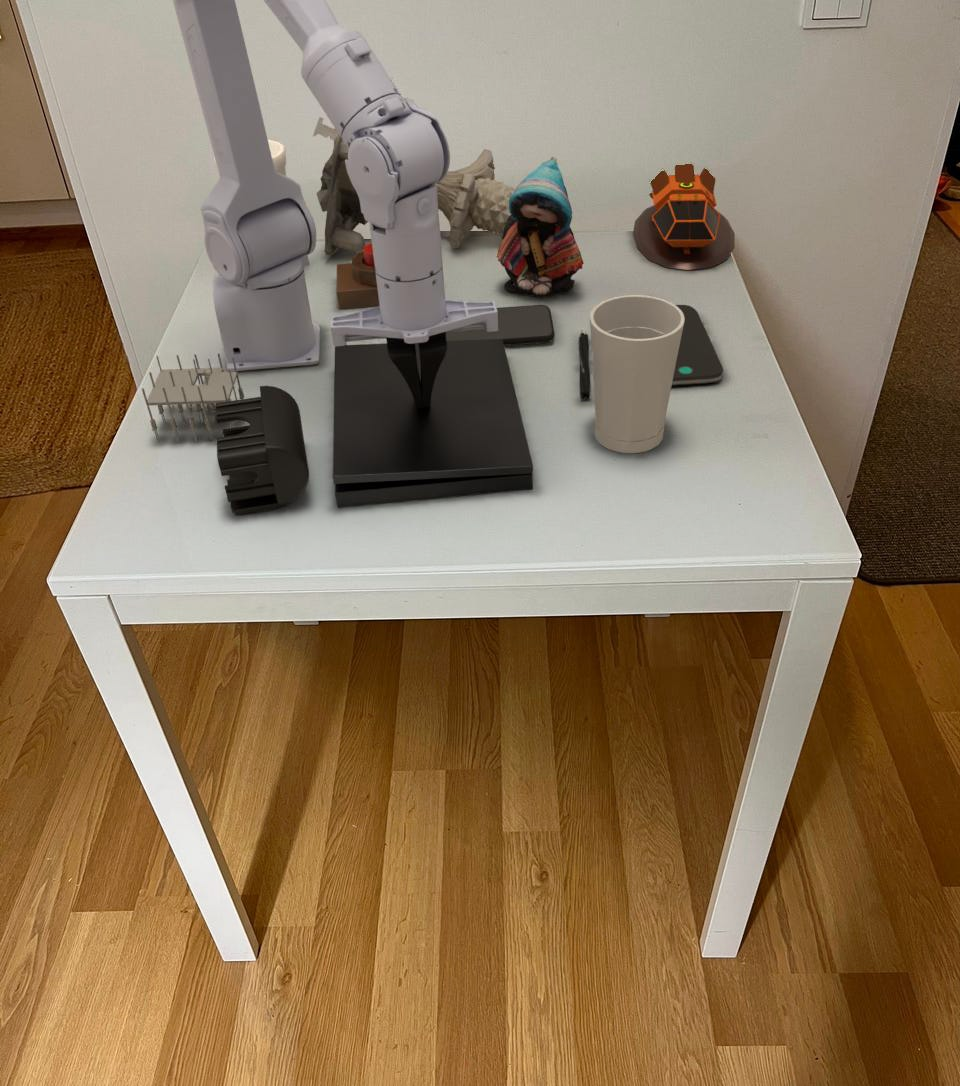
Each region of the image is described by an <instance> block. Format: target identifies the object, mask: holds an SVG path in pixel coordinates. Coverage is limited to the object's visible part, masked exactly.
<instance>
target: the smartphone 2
mask: <svg viewBox="0 0 960 1086" xmlns="http://www.w3.org/2000/svg"><path fill="white" fill-rule="evenodd" d="M675 305H676V306H677V307H678V308H679V309H680V310H681V311H682V312H683V314H684V318H685V321H684V326H683V331H682V336H681V340H680V345H679V350H678V355H677V360H676V365H675V370H674V375H673V381H672V386H673V387H675V386H691V385H705V384H713V383H716V382H717V383H718V382H719V381H720V380H721V379H722V378H723V374H724V367H723V365H722V362H721V360H720V357H719V356H718V354H717V352H716V350H715V347H714V345H713V343H712V341H711V339H710V337H709V335H708V333H707V330H706V328H705V325H704V324H703V321H702V319H701V317H700V315H699V313H698V311H697V310H696V308H694V307H693V306H691V305H687V304H675ZM672 386H671V387H672Z"/></svg>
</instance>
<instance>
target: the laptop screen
mask: <svg viewBox="0 0 960 1086" xmlns="http://www.w3.org/2000/svg"><path fill="white" fill-rule="evenodd" d="M415 349H416V358H417V366H418V372H419V377H420V382H421V364H420V353H419V344H418V343H415ZM333 372H334V373H333V374H334V377H333V378H334V379H333V381H334V382H333V441H332V442H333V443H332V445H333V447H332V450H333V453H332V455H333V456H332V481H333V485H335V484H342V483H361V482H380V481H399V480H418V479H437V478H456V477H475V476H494V475H514V474H532V475H533V473H534V465H533V461H532V456H531V452H530V448H529V443H528V439H527V436H526V432H525V427H524V423H523V418H522V414H521V410H520V406H519V401H518V398H517V394H516V390H515V386H514V381H513V377H512V373H511V369H510V365H509V360H508V357H507V352H506V348H505V345H504V343H503V339H483V340H458V341H447V351H446V355H445V357H444V359H443V361H442V363H441V365H440V367H439V370H438V372H437V375H436V378H435V381H434V385H433V389H432V394H431V406H430V407H423V408H417V407H416V405H415V401H414V398H413V395H412V393H411V391H410V388H409V386H408V384H407V382H406V381H405V379H404V377H403V376H402V374H401V373H400V371H399V370H398V368H397V367H396V366H395V365H394V363H393V362H392V361H391V359H390V357H389V355H388V350H387V342H386V343H366V344H365V343H363V344H361V343H360V344H346V345H345V346H337V347H334V369H333Z"/></svg>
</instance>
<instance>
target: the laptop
mask: <svg viewBox="0 0 960 1086" xmlns="http://www.w3.org/2000/svg"><path fill="white" fill-rule="evenodd" d="M533 476H534V475H533V473H532V474H514V475H494V476H475V477H456V478H437V479H418V480H399V481H380V482H361V483H342V484H334V495H335V501H336V507H337V508H344V507H355V506H365V505H366V506H367V505H379V504H386V503H398V502H408V501H420V500H430V499H431V500H432V499H439V498H450V497H451V498H452V497H463V496H473V495H484V494H492V493H493V494H494V493H503V492H513V491H514V492H515V491H526V490H533V488H534V486H533V485H534V483H533V482H534V481H533V478H534V477H533Z"/></svg>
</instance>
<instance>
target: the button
mask: <svg viewBox="0 0 960 1086" xmlns="http://www.w3.org/2000/svg"><path fill="white" fill-rule="evenodd" d="M362 251H363V252H364V261H365V265H366V266H371V267H375V264H374V256H373V248H372V242H369V243H367V244H365V245H364V248H363V249H362Z"/></svg>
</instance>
